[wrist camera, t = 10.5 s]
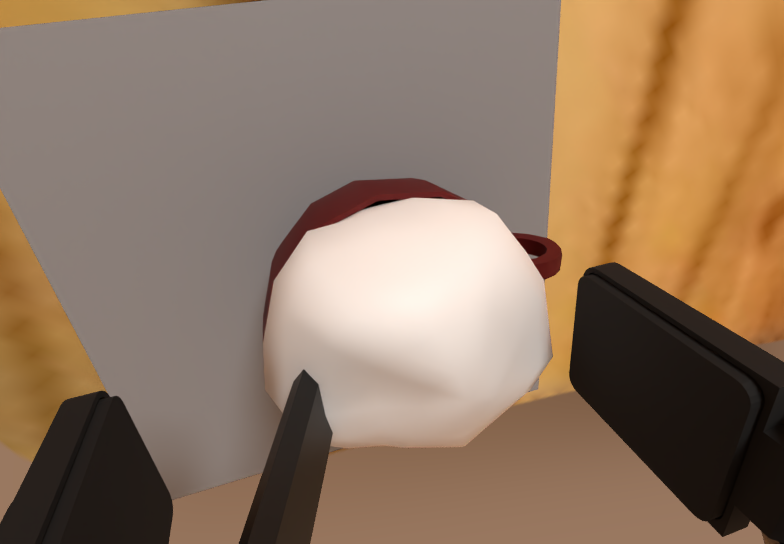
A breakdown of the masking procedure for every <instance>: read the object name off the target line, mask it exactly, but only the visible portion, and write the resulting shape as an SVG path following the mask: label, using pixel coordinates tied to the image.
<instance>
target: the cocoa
mask: <svg viewBox="0 0 784 544" xmlns="http://www.w3.org/2000/svg"><path fill="white" fill-rule="evenodd" d="M528 254H530V255H534V256H537V258H534V259H530V257H529V255H528ZM561 259H562V252H561V248H560V247H559V246H558V245H557V244H556V243H555V242H553V241H552V240H550V239H548V238H545V237H541V236H536V235H531V234H523V233H511V232H510V230H509V229H508V228H507V227H506V225H505V224H504V223H503V221H502V220H501V219H500V218H499V216H498V215H497V214H496V213H494V212H493V211H491V210H489V209H487V208H486V207H484V206H482V205H480V204H478V203H477V202H475V201H473V200H466V199H464V198H462V197H460V196H458V195H456V194H454V193H452V192H449V191H447V190H445V189H443V188H441V187H439V186H437V185H435V184H433V183H430V182H428V181H426V180H422V179H416V178H399V179H377V180H356V181H352V182H350V183H348V184H347V185H345V186H343V187H341V188H339V189H337V190H335V191H333V192H332V193H330V194H328V195H326V196H324V197H322V198H320V199H318V200H316V201H315V202H313V203H311V204H310V205H309V207H308V208H307V209H306V211H305V212H304V213H303V215H302V216H301V217H300V219H299V220H298V221H297V223H296V224H295V225H294V227H293V228H292V229H291V231H290V232H289V233H288V235H287V236H286V237H285V239H284V240H283V241H282V243H281V244H280V246H279V247H278V249H277V250H276V252H275V255H274V258H273V260H272V263H271V270H270V276H269V282H268V288H267V294H266V300H265V307H264V313H263V358H264V378H265V391H266V392H267V393H268V394H269V396H270V397H271V398H272V400H273V401H274V402H275V404H276V405H277V406H278V408H279V409H280V410H281V412H282V413H283V414H282V417H281V420H280V423H279V426H278V429H277V432H276V435H275V438H274V441H273V444H272V447H271V450H270V453H269V455H268V458H267V461H266V464H265V467H264V470H263V473H262V476H261V479H260V482H259V485H258V488H257V491H256V494H255V497H254V500H253V503H252V506H251V509H250V512H249V515H248V518H247V521H246V524H245V527H244V530H243V533H242V536H241V539H240V541H239V544H310V541H311V536H312V532H313V527H314V522H315V517H316V512H317V508H318V502H319V498H320V493H321V488H322V483H323V478H324V473H325V469H326V464H327V459H328V454H329V449H330V446H333V447H340V448H346V449H348V448H361V447H374V446H393V447H401V448H426V447H464V446H465V445H467V444H468V443H469V442H470V441H471V440H472V439H473V438H475V437H476V436H477V435H478V434H479V433H480V432H481V431H483V430H484V429H485V428H486V427H487V426H488V425H490V424H491V423H492V422H493V421H494V420H495V419H496V418H498V417H499V416H500V415H501V414H502V413H503V412H505V411H506V410H507V409H508V408H509V407H511V406H512V405H513V404H514V403H515V402H516V401H518V400H519V399H520V398H521V397H522V396H523V395H525V394H526V393H527V392H528V391H529V390H530V389H531V388H532V387H533V385H534V384H535V382H536V381H537V379H538V378H539V376H540V375H541V373H542V372H543V370H544V369H545V367H546V366H547V364H548V363H549V362H550V360H551V359H552V357H553V354H552V346H551V338H550V329H549V321H548V313H547V304H546V295H545V286H544V279H547V278H549V277H552V276H554V275H556V274H557V272H558V271H559V270H560V266H561Z"/></svg>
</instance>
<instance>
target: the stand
mask: <svg viewBox="0 0 784 544" xmlns="http://www.w3.org/2000/svg"><path fill="white" fill-rule="evenodd" d="M560 8H561V0H264V1H254V2H245V3H235V4H225V5H216V6H206V7H197V8H187V9H178V10H168V11H159V12H149V13H139V14H130V15H120V16H111V17H101V18H92V19H82V20H72V21H63V22H53V23H44V24H34V25H25V26H15V27H5V28H0V189H1V191H2V193H3V195H4V196H5V198H6V200H7V202H8V204H9V206H10V208H11V210H12V212H13V214H14V215H15V217H16V219H17V221H18V223H19V225H20V227H21V229H22V231H23V233H24V234H25V236H26V238H27V240H28V242H29V244H30V246H31V248H32V250H33V252H34V254H35V255H36V257H37V259H38V261H39V263H40V265H41V267H42V269H43V271H44V273H45V274H46V276H47V278H48V280H49V282H50V284H51V286H52V288H53V290H54V292H55V293H56V295H57V297H58V299H59V301H60V303H61V305H62V307H63V309H64V311H65V313H66V314H67V316H68V318H69V320H70V322H71V324H72V326H73V328H74V330H75V332H76V333H77V335H78V337H79V339H80V341H81V343H82V345H83V347H84V349H85V351H86V352H87V354H88V356H89V358H90V360H91V362H92V364H93V366H94V368H95V370H96V371H97V373H98V375H99V377H100V379H101V381H102V383H103V385H104V387H105V389H106V391H107V392H108V394H109V396H110V397H113V396H119V397H120V398H121V399H122V401H123V403H124V404H125V406H126V408H127V410H128V412H129V414H130V416H131V418H132V420H133V422H134V424H135V426H136V428H137V430H138V432H139V434H140V436H141V438H142V440H143V442H144V444H145V446H146V448H147V450H148V451H149V453H150V455H151V457H152V459H153V461H154V463H155V465H156V467H157V469H158V471H159V473H160V475H161V477H162V479H163V481H164V483H165V485H166V487H167V489H168V491H169V493H170V495H171V499H172V500H174V499H177V498H181V497H184V496H187V495H191V494H194V493H197V492H201V491H204V490H207V489H210V488H214V487H217V486H220V485H224V484H227V483H230V482H234V481H237V480H240V479H243V478H247V477H250V476H253V475H257V474H260V473H263V470H264V467H265V464H266V461H267V458H268V455H269V453H270V450H271V447H272V444H273V441H274V438H275V435H276V432H277V429H278V426H279V423H280V420H281V417H282V414H283V413H282V412H281V410H280V409H279V408H278V406H277V405H276V404H275V402H274V401H273V400H272V398H271V397H270V396H269V394H268V393H267V392H266V391H265V378H264V358H263V313H264V307H265V300H266V294H267V288H268V282H269V276H270V270H271V263H272V260H273V258H274V255H275V252H276V250H277V249H278V247H279V246H280V244H281V243H282V241H283V240H284V239H285V237H286V236H287V235H288V233H289V232H290V231H291V229H292V228H293V227H294V225H295V224H296V223H297V221H298V220H299V219H300V217H301V216H302V215H303V213H304V212H305V211H306V209H307V208H308V207H309V205H310V204H311V203H313V202H315V201H316V200H318V199H320V198H322V197H324V196H326V195H328V194H330V193H332V192H333V191H335V190H337V189H339V188H341V187H343V186H345V185H347V184H348V183H350V182H352V181H356V180H377V179H399V178H416V179H422V180H426V181H428V182H430V183H433V184H435V185H437V186H439V187H441V188H443V189H445V190H447V191H449V192H452V193H454V194H456V195H458V196H460V197H462V198H464V199H466V200H473V201H475V202H477V203H478V204H480V205H482V206H484V207H486V208H487V209H489V210H491V211H493V212H494V213H496V214H497V215H498V216H499V218H500V219H501V220H502V221H503V223H504V224H505V225H506V227H507V228H508V229H509V230H510V232H511V233H523V234H531V235H536V236H541V237H545V238H547V230H548V213H549V196H550V179H551V162H552V145H553V128H554V110H555V93H556V76H557V59H558V42H559V25H560ZM528 255H529V257H530V259H534V258H537V256H534V255H530V254H528ZM544 281H545V279H544ZM538 383H539V378H538V379H537V381H536V382H535V384H534V385H533V387H532V388H531V389H530V390H529V391H528V392H530V391H533V390H537V389H538ZM339 449H342V448H340V447H333V446H330V449H329V452H332V451H336V450H339Z"/></svg>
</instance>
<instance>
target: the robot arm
mask: <svg viewBox="0 0 784 544" xmlns="http://www.w3.org/2000/svg"><path fill="white" fill-rule="evenodd" d="M569 376H570V381H571V383H572V385H573V387H574V389H575V390H576V391H577V392H578V393H579V394H580V395H581V397H583V399H584V400H585V401H586V402H587V403H588V404H589V405H590V406H591V407H592V408H593V409H594V410H595V411H596V412H597V413H598V414H599V415H600V417H601V418H602V419H603V420H604V421H605V422H606V423H607V424H608V425H609V426H610V427H611V428H612V429H613V430H614V431H615V432H616V433H617V434H618V436H619V437H620V438H621V439H622V440H623V441H624V442H625V443H626V444H627V445H628V446H629V447H630V448H631V449H632V450H633V451H634V452H635V453H636V454H637V456H638V457H639V458H640V459H641V460H642V461H643V462H644V463H645V464H646V465H647V466H648V467H649V468H650V469H651V470H652V471H653V472H654V473H655V475H656V476H657V477H658V478H659V479H660V480H661V481H662V482H663V483H664V484H665V485H666V486H667V487H668V488H669V489H670V490H671V491H672V492H673V493H674V494H675V495H676V497H677V498H678V499H679V500H680V501H681V502H682V503H683V504H684V505H685V506H686V507H687V508H688V509H689V510H690V511H691V512H692V513H693V514H694V515H695V516H696V517H697V518H699V519H700V520H702V521H708V522H709V523H710V524H711V526H712V527H713V528H714V529H715V530H716V531H717V532H718V533H719V534H720V535H721V536H722V537H724V536H726V535H729V534H731V533H734V532H736V531H738V530H741V529H743V528H746V527H747V526H748V524H749V522H750V521H751V522H752V523H754V524H755V525H756V526H757V527H758V528H759V529H760V530H761V532H762V536H763V540H764V543H765V544H784V362H782V361H781V360H779V359H778V358H776V357H774V356H773V355H771V354H769V353H768V352H766V351H764V350H762V349H761V348H759V347H757V346H756V345H754V344H752V343H751V342H749V341H747V340H746V339H744V338H742V337H741V336H739V335H737V334H736V333H734V332H732V331H731V330H729V329H727V328H726V327H724V326H722V325H721V324H719V323H717V322H716V321H714V320H712V319H711V318H709V317H707V316H706V315H704V314H702V313H700V312H699V311H697V310H695V309H694V308H692V307H690V306H689V305H687V304H685V303H684V302H682V301H680V300H679V299H677V298H675V297H674V296H672V295H670V294H669V293H667V292H665V291H664V290H662V289H660V288H659V287H657V286H655V285H654V284H652V283H650V282H649V281H647V280H645V279H644V278H642V277H640V276H638V275H637V274H635V273H633V272H632V271H630V270H628V269H627V268H625V267H623V266H622V265H620V264H618V263H615V262H614V263H607V264H603V265H599V266H596V267H592V268H589V269H587V270H586V271H585V273H584V276H583V277H581V278H580V280H579V283H578V290H577V301H576V311H575V321H574V331H573V341H572V351H571V361H570V371H569ZM172 516H173V505H172V499H171V495H170V493H169V491H168V489H167V487H166V485H165V483H164V481H163V479H162V477H161V475H160V473H159V471H158V469H157V467H156V465H155V463H154V461H153V459H152V457H151V455H150V453H149V451H148V450H147V448H146V446H145V444H144V442H143V440H142V438H141V436H140V434H139V432H138V430H137V428H136V426H135V424H134V422H133V420H132V418H131V416H130V414H129V412H128V410H127V408H126V406H125V404H124V403H123V401H122V399H121V398H120V397H119V396H113V397H110V396H109V394H108V393H106V392H105V391H98V392H94V393H90V394H86V395H82V396H78V397H74V398H71V399H67V400H65V401H64V402H63V403H62V404H61V406H60V408H59V410H58V412H57V414H56V416H55V418H54V420H53V422H52V424H51V426H50V428H49V430H48V432H47V434H46V436H45V438H44V440H43V442H42V444H41V446H40V448H39V450H38V452H37V454H36V456H35V458H34V460H33V462H32V464H31V466H30V468H29V470H28V473H27V474H26V476H25V478H24V481H23V482H22V484H21V487H20V489H19V491H18V492H17V495H16V497H15V498H14V500H13V502H12V503H11V505H10V506H9V508H8V509H7V512H6V513H5V515H4V517H3V520H2V521H1V523H0V544H169V537H170V529H171V523H172Z"/></svg>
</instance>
